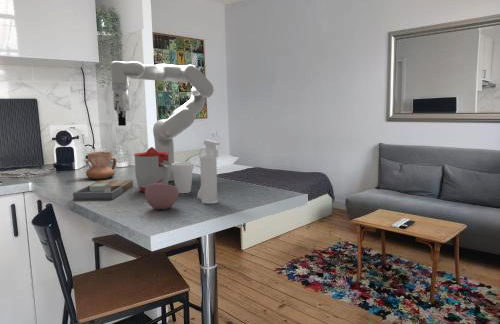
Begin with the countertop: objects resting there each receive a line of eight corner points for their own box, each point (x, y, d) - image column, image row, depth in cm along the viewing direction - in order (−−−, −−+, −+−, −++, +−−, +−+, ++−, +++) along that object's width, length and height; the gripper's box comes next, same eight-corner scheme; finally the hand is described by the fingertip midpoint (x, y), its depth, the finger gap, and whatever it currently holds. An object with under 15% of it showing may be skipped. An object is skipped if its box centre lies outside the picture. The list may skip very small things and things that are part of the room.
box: (123, 192, 168) (122, 186, 168) (112, 199, 155) (111, 192, 154) (87, 192, 168) (87, 186, 168) (73, 200, 155) (72, 193, 154)
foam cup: (173, 195, 162) (172, 165, 160) (171, 191, 171) (170, 162, 169) (195, 194, 164) (194, 164, 163) (192, 189, 173) (192, 161, 171)
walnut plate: (133, 186, 182) (132, 180, 182) (123, 192, 168) (123, 185, 168) (100, 186, 182) (99, 180, 182) (87, 192, 168) (87, 186, 168)
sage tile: (109, 187, 165) (109, 183, 165) (103, 190, 159) (103, 186, 159) (95, 187, 165) (95, 183, 165) (89, 190, 159) (89, 186, 159)
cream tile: (110, 191, 167) (110, 187, 166) (105, 194, 161) (104, 190, 160) (97, 191, 167) (97, 187, 167) (91, 194, 161) (91, 190, 161)
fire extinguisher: (205, 197, 157) (203, 137, 152) (224, 203, 148) (223, 140, 144) (191, 200, 152) (190, 139, 148) (211, 207, 144) (210, 142, 139)
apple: (180, 204, 146) (180, 175, 144) (175, 213, 134) (174, 181, 133) (149, 205, 146) (148, 176, 144) (142, 213, 134) (140, 182, 132)
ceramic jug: (91, 182, 194) (89, 154, 192) (79, 178, 203) (78, 152, 202) (123, 178, 207) (122, 152, 205) (110, 174, 216) (110, 150, 215)
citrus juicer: (156, 195, 161) (154, 149, 159) (128, 191, 170) (125, 147, 168) (180, 189, 175) (179, 146, 172) (153, 185, 184) (151, 144, 181)
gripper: (122, 86, 175) (124, 126, 178) (132, 88, 190) (134, 124, 193) (106, 86, 175) (109, 126, 178) (117, 88, 190) (119, 125, 193)
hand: (122, 125), depth 185 cm, fingers closed
